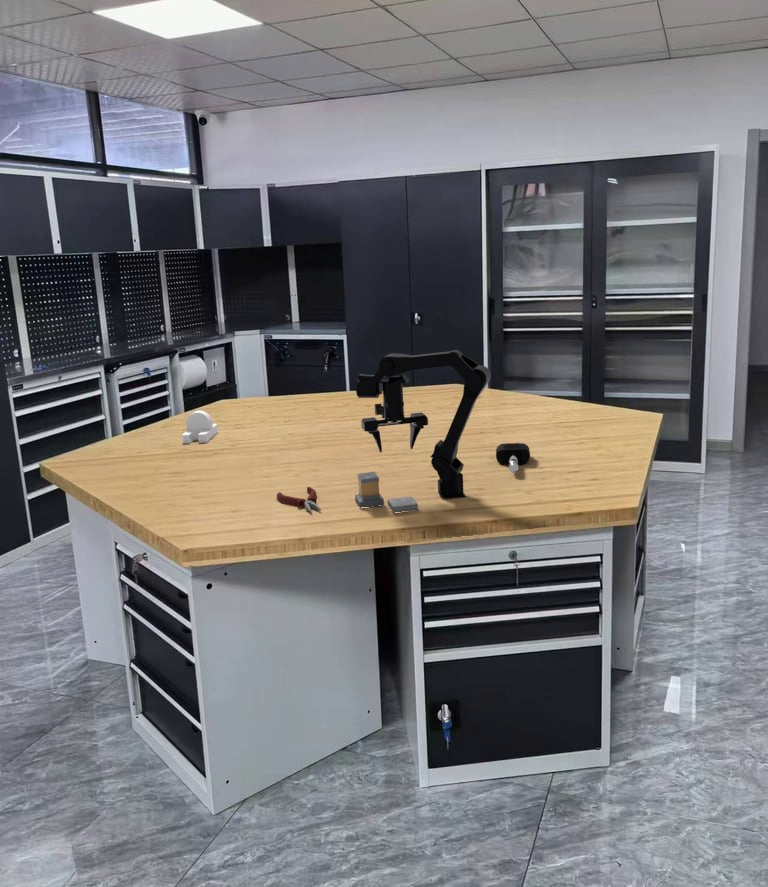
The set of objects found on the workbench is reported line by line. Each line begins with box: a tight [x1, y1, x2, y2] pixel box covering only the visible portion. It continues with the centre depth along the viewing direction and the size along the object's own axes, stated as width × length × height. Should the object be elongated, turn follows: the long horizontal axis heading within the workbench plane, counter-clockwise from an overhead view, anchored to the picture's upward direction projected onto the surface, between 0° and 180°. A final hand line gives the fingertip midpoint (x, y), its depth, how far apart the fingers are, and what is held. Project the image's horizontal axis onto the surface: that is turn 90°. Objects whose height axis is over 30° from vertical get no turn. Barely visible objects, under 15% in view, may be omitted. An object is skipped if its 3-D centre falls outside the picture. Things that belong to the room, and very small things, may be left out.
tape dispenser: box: [181, 410, 219, 444], centre depth 327 cm, size 10×18×11 cm, turn 176°
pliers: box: [276, 486, 322, 514], centre depth 239 cm, size 12×20×3 cm, turn 24°
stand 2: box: [387, 496, 419, 514], centre depth 230 cm, size 7×7×2 cm
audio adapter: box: [495, 442, 531, 474], centre depth 263 cm, size 11×5×25 cm
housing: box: [357, 471, 381, 501], centre depth 234 cm, size 6×5×6 cm
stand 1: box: [354, 492, 385, 509], centre depth 235 cm, size 7×7×2 cm
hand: (396, 450), depth 241 cm, fingers open, 9 cm apart
